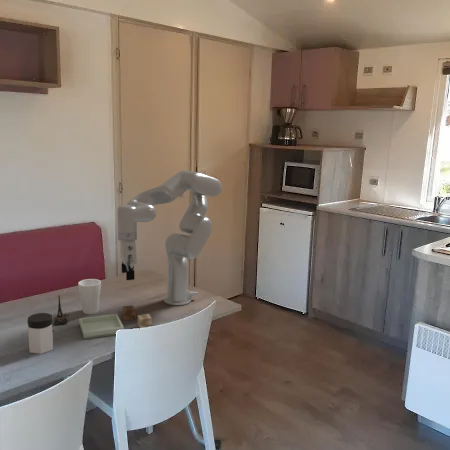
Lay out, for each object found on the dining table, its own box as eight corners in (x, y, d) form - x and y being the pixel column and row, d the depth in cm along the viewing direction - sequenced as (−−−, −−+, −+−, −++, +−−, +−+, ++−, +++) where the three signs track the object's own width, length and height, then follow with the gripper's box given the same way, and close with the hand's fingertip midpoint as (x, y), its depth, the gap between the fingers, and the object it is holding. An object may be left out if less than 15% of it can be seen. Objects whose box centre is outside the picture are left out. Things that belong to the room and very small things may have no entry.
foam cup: (95, 316, 201) (94, 287, 198) (75, 314, 202) (74, 285, 200) (105, 308, 210) (104, 280, 207) (85, 306, 211) (85, 278, 209)
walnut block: (133, 315, 204) (133, 305, 203) (135, 319, 200) (135, 309, 199) (122, 316, 202) (122, 306, 201) (124, 320, 198) (124, 310, 197)
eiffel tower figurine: (66, 314, 203) (64, 284, 200) (83, 320, 198) (81, 289, 195) (36, 327, 190) (34, 295, 187) (53, 333, 185) (51, 300, 182)
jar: (47, 340, 178) (45, 310, 175) (59, 347, 173) (57, 316, 170) (23, 349, 171) (21, 317, 168) (35, 356, 166) (33, 324, 163)
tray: (117, 319, 198) (117, 313, 198) (123, 333, 186) (123, 327, 185) (79, 324, 192) (79, 318, 192) (83, 339, 180) (83, 332, 179)
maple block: (148, 324, 195) (148, 313, 194) (151, 328, 191) (151, 318, 190) (137, 325, 194) (137, 315, 193) (140, 330, 189) (140, 319, 189)
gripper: (141, 240, 187) (141, 281, 191) (132, 230, 202) (132, 269, 206) (122, 241, 184) (122, 283, 188) (114, 231, 199) (115, 270, 203)
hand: (127, 276), depth 197 cm, fingers open, 9 cm apart
